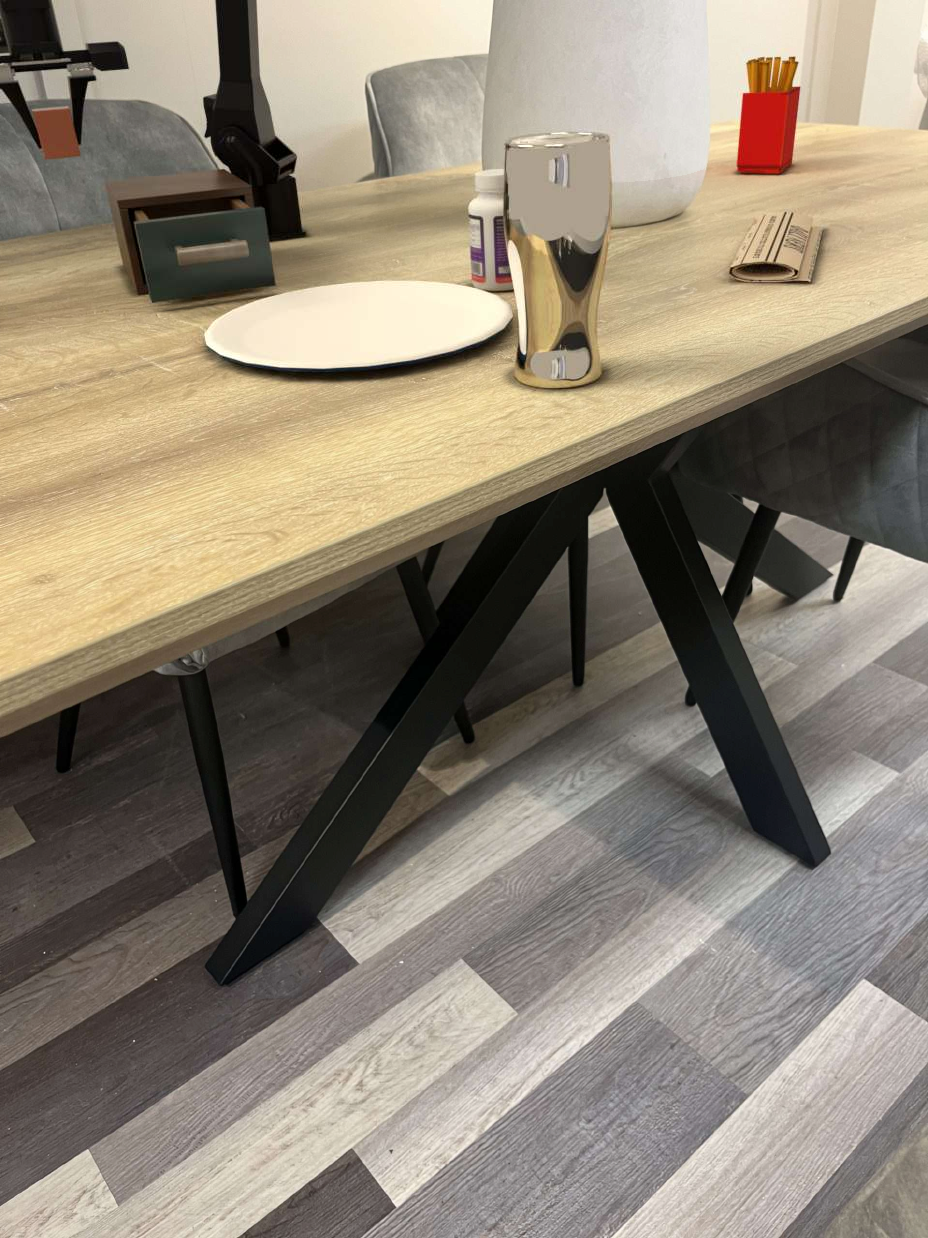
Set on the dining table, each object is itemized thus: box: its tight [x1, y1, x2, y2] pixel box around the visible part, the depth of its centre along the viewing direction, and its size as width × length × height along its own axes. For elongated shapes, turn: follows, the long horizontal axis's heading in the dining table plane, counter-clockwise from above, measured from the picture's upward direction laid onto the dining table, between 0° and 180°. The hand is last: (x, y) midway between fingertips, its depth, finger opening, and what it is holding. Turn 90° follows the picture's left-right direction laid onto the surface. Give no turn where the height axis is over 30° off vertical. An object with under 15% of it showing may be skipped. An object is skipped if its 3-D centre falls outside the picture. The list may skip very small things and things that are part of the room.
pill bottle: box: [467, 168, 514, 292], centre depth 90 cm, size 5×5×10 cm
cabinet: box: [104, 168, 254, 296], centre depth 102 cm, size 15×13×9 cm
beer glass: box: [503, 131, 613, 389], centre depth 65 cm, size 7×7×15 cm
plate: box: [203, 280, 514, 373], centre depth 81 cm, size 25×25×1 cm
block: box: [31, 105, 82, 160], centre depth 115 cm, size 4×4×5 cm
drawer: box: [129, 196, 277, 304], centre depth 93 cm, size 18×11×7 cm, turn 22°
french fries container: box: [736, 55, 802, 174], centre depth 138 cm, size 7×9×14 cm
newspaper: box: [727, 211, 824, 283], centre depth 97 cm, size 24×7×2 cm, turn 161°
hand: (60, 146), depth 116 cm, fingers closed on block, 4 cm apart
